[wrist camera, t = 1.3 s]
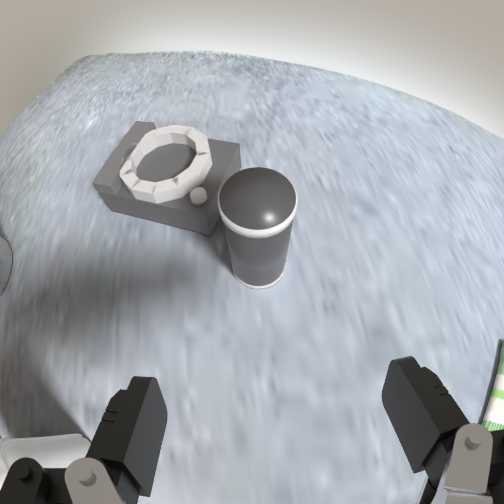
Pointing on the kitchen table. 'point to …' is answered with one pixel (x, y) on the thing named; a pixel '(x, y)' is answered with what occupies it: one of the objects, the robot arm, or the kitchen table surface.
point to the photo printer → (42, 451)
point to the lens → (258, 224)
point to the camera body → (168, 176)
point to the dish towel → (496, 400)
